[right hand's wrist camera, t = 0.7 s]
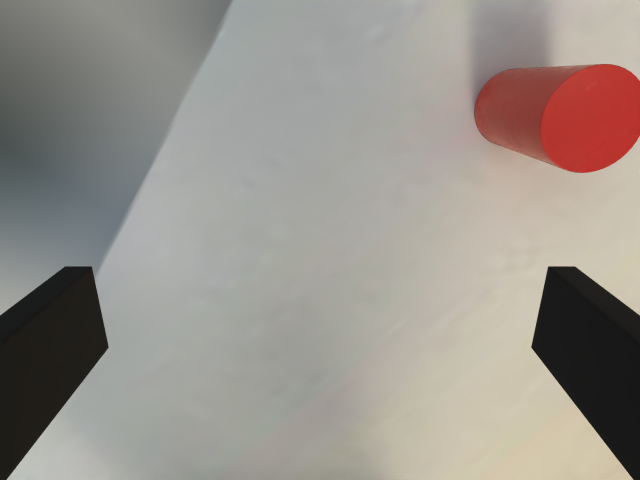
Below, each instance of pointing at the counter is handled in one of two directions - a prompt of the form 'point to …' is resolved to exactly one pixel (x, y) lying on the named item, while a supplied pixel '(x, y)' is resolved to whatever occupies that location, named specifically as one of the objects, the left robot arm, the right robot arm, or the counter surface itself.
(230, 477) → the counter surface
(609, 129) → the can
